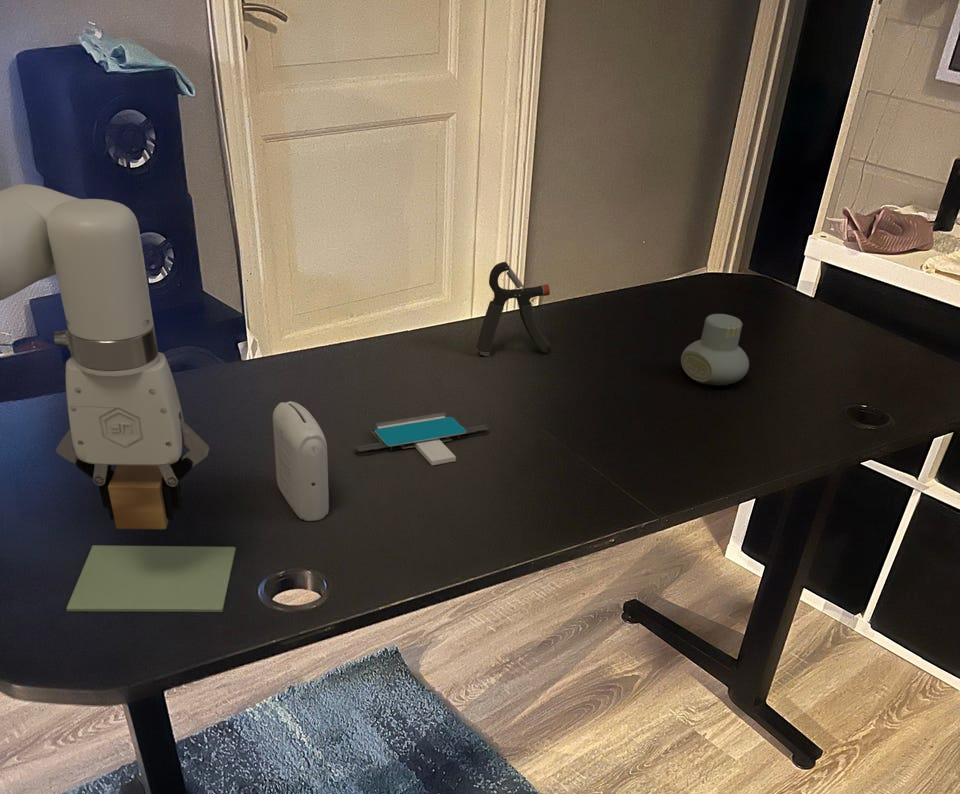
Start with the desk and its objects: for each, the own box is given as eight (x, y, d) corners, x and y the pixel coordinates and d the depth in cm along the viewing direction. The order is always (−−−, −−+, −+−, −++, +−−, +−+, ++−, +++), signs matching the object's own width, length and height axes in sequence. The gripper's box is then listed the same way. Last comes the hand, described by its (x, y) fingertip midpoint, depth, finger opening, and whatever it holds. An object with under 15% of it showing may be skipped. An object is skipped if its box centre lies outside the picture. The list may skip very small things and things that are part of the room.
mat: (66, 611, 102) (66, 608, 101) (93, 548, 111) (92, 545, 111) (222, 612, 103) (222, 609, 103) (235, 549, 113) (235, 546, 112)
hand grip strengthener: (551, 355, 163) (561, 265, 154) (479, 357, 161) (485, 265, 151) (547, 350, 165) (557, 260, 156) (476, 352, 162) (482, 260, 153)
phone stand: (375, 476, 128) (375, 465, 127) (343, 436, 136) (342, 426, 135) (508, 451, 136) (509, 441, 135) (470, 415, 144) (471, 405, 143)
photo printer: (333, 518, 119) (331, 426, 111) (300, 525, 117) (295, 432, 110) (305, 479, 126) (300, 390, 118) (273, 485, 124) (266, 395, 117)
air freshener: (670, 371, 162) (681, 312, 155) (705, 362, 165) (718, 304, 159) (716, 397, 155) (730, 336, 148) (752, 387, 159) (767, 328, 152)
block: (116, 529, 100) (107, 486, 97) (126, 503, 104) (118, 462, 101) (166, 529, 100) (158, 487, 97) (174, 504, 104) (167, 463, 101)
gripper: (7, 359, 87) (51, 531, 98) (202, 364, 88) (223, 533, 100) (31, 327, 92) (69, 494, 104) (213, 332, 94) (232, 495, 105)
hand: (144, 511), depth 102 cm, fingers closed on block, 5 cm apart
